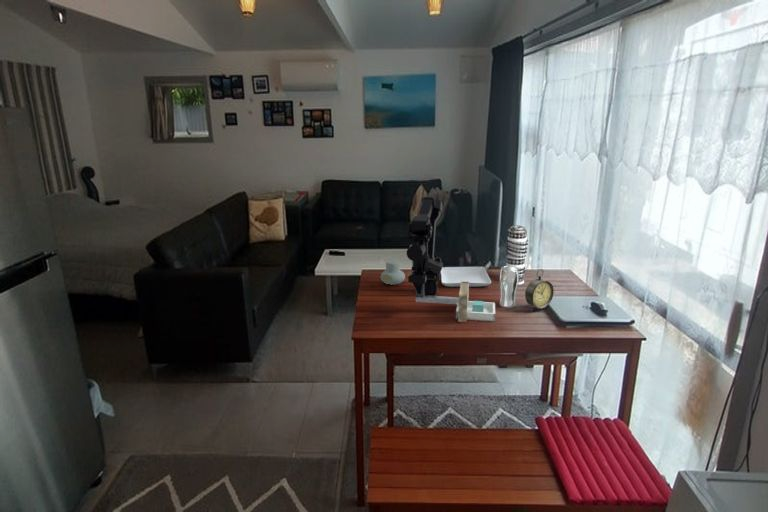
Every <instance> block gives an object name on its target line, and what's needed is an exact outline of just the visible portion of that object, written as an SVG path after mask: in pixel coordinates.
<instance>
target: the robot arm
mask: <svg viewBox="0 0 768 512" xmlns="http://www.w3.org/2000/svg"><path fill="white" fill-rule="evenodd" d="M441 213H443V202H442V200H440V199H437V198H436V197H434V196H423V197H421V199H420V206H419V210H418V213H417V215H416V216H413V217H412V219H411V220H410V221H411V222H409V224H408V225H409V226H408V229H407V230H408V232H407V238H406V240H407V241H411V243H410V245H409V247H408V248H407V249H406V256H407V257H406V258H408V259H409V260H410V261H411V262H412V264H411V265H412V267H411V272H410V273H409V274H408V276H407V277H408V278H407V280H408V281H407V282H408V283H411V284H412V285H413V286H414V288H415V292H416V291H417V293H418V294H421V291H422V286H423V283H425V288H424V295H427V296H437V293H438V282H439V281H440V280H441V273H440V272H441V270H442V267H444V263H443V262H442V259H441V257H439V256H436V258H435V244H436V243H435V242H436V230H437V228H436V227H437V222H438V220H439V219H440V217H441Z"/></svg>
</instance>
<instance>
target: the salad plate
mask: <svg viewBox="0 0 768 512" xmlns="http://www.w3.org/2000/svg"><path fill="white" fill-rule="evenodd" d="M440 280H441V284H442V285H443V286H445V287H451V288H455V287H456V288H460V286H461V282H469V288H471V287H472V288H474V287H475V288H477V287H486V286H490V285H491V284H492V280H491V278H490V276H489V273H488V272H487V270H486V267H485V266H445V267H444V266H443V267H442V270H441V272H440Z"/></svg>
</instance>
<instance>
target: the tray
mask: <svg viewBox="0 0 768 512" xmlns="http://www.w3.org/2000/svg"><path fill="white" fill-rule="evenodd" d="M473 301H474V300H468V303H467V321H478V320H479V321H481V322H493V323H494V322H495V321H496V303H495V302H489V301H484V309H483V312H472V307H473ZM458 311H459V304H456V309H455V319H456V320H458Z"/></svg>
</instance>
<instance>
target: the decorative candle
mask: <svg viewBox="0 0 768 512" xmlns="http://www.w3.org/2000/svg"><path fill="white" fill-rule="evenodd" d="M507 232H508V235H507V241H506V242H505V249H506V250H505V256H506V263H505V264H506V265H505V266H513V267H517V268H518V269H519V270H518V271H519V279H518V286H519V285H523V284H525V276H526V275H525V273H526V266H525V264H526V263H525V262H526V261H525V259H526V258H527V255H526V254H527V253H528V251H527V250H528V247H527V246H529V244H528V242H529V239H528V237H527V235H528V234H527V233H528V229H526V227H525V226H523V225H518V224H517V225H512V226H510V228H508V229H507Z"/></svg>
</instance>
